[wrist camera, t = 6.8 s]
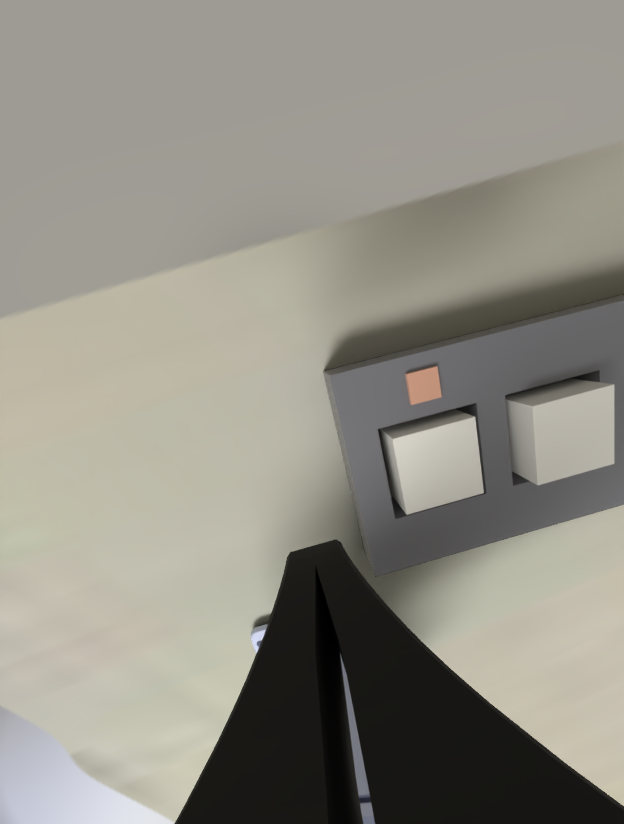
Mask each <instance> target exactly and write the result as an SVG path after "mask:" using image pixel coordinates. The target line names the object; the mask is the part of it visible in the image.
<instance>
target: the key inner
mask: <svg viewBox="0 0 624 824" xmlns="http://www.w3.org/2000/svg"><path fill="white" fill-rule="evenodd" d="M378 430H379V436H380V441H381V446H382V451H383V456H384V461H385V466H386V471H387V476H388V481H389V486H390V492H391V494H392V496H393V497H394V498H395V500H396V501H397V503H398V504H399V505H400V507H401V508H402V509H403V511H404V512H405V513H406V515H408V514H411V513H415V512H419V511H422V510H426V509H429V508H433V507H436V506H440V505H443V504H447V503H450V502H454V501H457V500H461V499H465V498H468V497H472V496H475V495H479V494H482V493H484V490H483V481H482V472H481V463H480V455H479V446H478V437H477V429H476V420H475V417H474V416H472V415H469V414H467V413H464V412H461V411H459V410H456V409H451V410H448V411H444V412H440V413H436V414H433V415H429V416H425V417H422V418H418V419H414V420H410V421H407V422H403V423H399V424H395V425H392V426H388V427H384V428H380V429H378Z"/></svg>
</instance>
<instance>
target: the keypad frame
mask: <svg viewBox="0 0 624 824" xmlns="http://www.w3.org/2000/svg"><path fill="white" fill-rule="evenodd" d="M323 372H324V377H325V381H326V385H327V390H328V394H329V398H330V402H331V407H332V411H333V415H334V420H335V424H336V428H337V433H338V437H339V441H340V446H341V450H342V454H343V459H344V463H345V467H346V472H347V476H348V480H349V485H350V489H351V493H352V498H353V502H354V506H355V511H356V515H357V519H358V524H359V528H360V532H361V537H362V541H363V545H364V550H365V553H366V556H367V558H368V560H369V563H370V565H371V568H372V570H373V572H374V575H375V577H377V576H380V575H383V574H387V573H390V572H394V571H397V570H401V569H404V568H408V567H411V566H414V565H418V564H421V563H425V562H428V561H432V560H435V559H438V558H442V557H445V556H449V555H452V554H456V553H459V552H462V551H466V550H469V549H473V548H476V547H480V546H483V545H486V544H490V543H493V542H497V541H500V540H504V539H507V538H510V537H514V536H517V535H521V534H524V533H528V532H531V531H534V530H538V529H541V528H545V527H548V526H552V525H555V524H558V523H562V522H565V521H569V520H572V519H576V518H579V517H583V516H586V515H589V514H593V513H596V512H600V511H603V510H607V509H610V508H613V507H617V506H620V505H624V295H620V296H616V297H612V298H608V299H604V300H600V301H596V302H592V303H589V304H585V305H581V306H577V307H573V308H569V309H565V310H561V311H557V312H553V313H549V314H545V315H542V316H538V317H534V318H530V319H526V320H522V321H518V322H514V323H510V324H506V325H502V326H498V327H495V328H491V329H487V330H483V331H479V332H475V333H471V334H467V335H463V336H459V337H455V338H451V339H447V340H444V341H440V342H436V343H432V344H428V345H424V346H420V347H416V348H412V349H408V350H404V351H400V352H397V353H393V354H389V355H385V356H381V357H377V358H373V359H369V360H365V361H361V362H357V363H353V364H349V365H346V366H342V367H338V368H334V369H330V370H326V371H323ZM568 379H578V380H585V381H593V382H600V383H608V384H614V464H612V465H608V466H605V467H601V468H598V469H594V470H591V471H587V472H584V473H580V474H577V475H573V476H569V477H566V478H562V479H559V480H555V481H552V482H548V483H545V484H541V485H536V484H534V483H532V482H531V481H529V480H527V479H525V478H523V477H522V476H520V475H518V474H516V473H515V472H513V471H512V468H511V457H510V445H509V434H508V423H507V412H506V401H505V395H508V394H511V393H515V392H519V391H523V390H526V389H530V388H534V387H538V386H541V385H545V384H549V383H553V382H556V381H560V380H568ZM451 409H456V410H459V411H461V412H464V413H467V414H469V415H472V416H474V417H475V420H476V429H477V437H478V446H479V455H480V463H481V472H482V481H483V490H484V493H482V494H479V495H475V496H472V497H468V498H465V499H461V500H457V501H454V502H450V503H447V504H443V505H440V506H436V507H433V508H429V509H426V510H422V511H419V512H415V513H411V514H408V515H406V513H405V512H404V511H403V509H402V508H401V507H400V505H399V504H398V503H397V501H396V500H395V498H394V497H391V495H390V490H389V485H388V479H387V474H386V469H385V464H384V459H383V454H382V449H381V444H380V439H379V434H378V429H380V428H384V427H388V426H392V425H395V424H399V423H403V422H407V421H410V420H414V419H418V418H422V417H425V416H429V415H433V414H436V413H440V412H444V411H448V410H451Z"/></svg>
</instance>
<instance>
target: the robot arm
mask: <svg viewBox="0 0 624 824" xmlns="http://www.w3.org/2000/svg"><path fill="white" fill-rule="evenodd" d="M261 640H262V641H261ZM251 641H252V643H253V646H254V649H255V651H256V656H255V659H254V661H253V664H252V666H251V669H250V672H249V674H248V676H247V679H246V681H245V683H244V686H243V688H242V690H241V693H240V695H239V697H238V699H237V702H236V704H235V706H234V708H233V710H232V712H231V715H230V717H229V719H228V721H227V723H226V725H225V727H224V729H223V731H222V734H221V736H220V738H219V740H218V742H217V744H216V746H215V748H214V750H213V752H212V754H211V756H210V758H209V759H208V761H207V763H206V765H205V767H204V769H203V771H202V773H201V775H200V777H199V779H198V781H197V783H196V785H195V787H194V789H193V790H192V792H191V794H190V796H189V798H188V800H187V802H186V804H185V806H184V808H183V809H182V811H181V813H180V815H179V817H178V819H177V820H176V822H175V824H624V806H622V805H621V804H620V803H618V802H617V801H616V800H614V799H613V798H612V797H610V796H609V795H607V794H606V793H605V792H603V791H602V790H601V789H599V788H598V787H597V786H595V785H594V784H593V783H591V782H590V781H589V780H587V779H586V778H585V777H583V776H582V775H581V774H579V773H578V772H577V771H575V770H574V769H572V768H571V767H570V766H568V765H567V764H566V763H564V762H563V761H562V760H561V759H559V758H558V757H557V756H556V755H554V754H553V753H552V752H551V751H549V750H548V749H547V748H546V747H544V746H543V745H542V744H541V743H539V742H538V741H537V740H536V739H534V738H533V737H532V736H530V735H529V734H528V733H527V732H525V731H524V730H523V729H522V728H520V727H519V726H518V725H517V724H515V723H514V722H513V721H512V720H510V719H509V718H508V717H507V716H505V715H504V714H503V713H502V712H500V711H499V710H498V709H497V708H495V707H494V706H493V705H492V704H490V703H489V702H488V701H487V700H486V699H484V698H483V697H482V696H481V695H480V694H479V693H478V692H476V691H475V690H474V689H473V688H472V687H471V686H469V685H468V684H467V683H466V682H465V681H464V680H463V679H461V678H460V677H459V676H458V675H457V674H456V673H455V672H454V671H452V670H451V669H450V668H449V667H448V666H447V665H446V664H445V663H444V662H443V661H442V660H440V659H439V658H438V657H437V656H436V655H435V654H434V653H433V652H432V651H431V650H430V649H429V648H428V647H427V646H426V645H425V644H424V643H423V642H422V641H421V640H420V639H419V638H418V637H417V636H416V635H415V634H414V633H413V632H412V631H411V630H410V629H409V628H408V627H407V626H406V625H405V624H404V623H403V622H402V621H401V620H400V619H399V618H398V617H397V616H396V615H395V614H394V613H393V611H392V610H391V609H390V608H389V607H388V606H387V605H386V604H385V603H384V601H383V600H382V599H381V598H380V597H379V595H378V594H377V593H376V592H375V591H374V589H373V588H372V587H371V586H370V585H369V584H368V582H367V581H366V580H365V579H364V577H363V576H362V575H361V573H360V572H359V571H358V569H357V568H356V566H355V565H354V564H353V562H352V561H351V559H350V558H349V556H348V555H347V553H346V551H345V550H344V548H343V546H342V544H341V542H340V541H338V540H332V541H329V542H325V543H322V544H318V545H315V546H311V547H307V548H304V549H300V550H297V551H293V552H290V554H289V555H288V557H287V561H286V566H285V570H284V574H283V578H282V581H281V585H280V588H279V592H278V595H277V598H276V601H275V604H274V607H273V610H272V613H271V616H270V619H269V622H268V624H265V625H262V626H259V627H256V628H254V629H253V630H252V632H251Z"/></svg>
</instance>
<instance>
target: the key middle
mask: <svg viewBox="0 0 624 824" xmlns="http://www.w3.org/2000/svg"><path fill="white" fill-rule="evenodd" d="M505 401H506V412H507V423H508V434H509V445H510V457H511V468H512V471H513V472H515V473H516V474H518V475H520V476H522V477H523V478H525V479H527V480H529V481H531V482H532V483H534V484H536V485H541V484H545V483H548V482H552V481H555V480H559V479H562V478H566V477H569V476H573V475H577V474H580V473H584V472H587V471H591V470H594V469H598V468H601V467H605V466H608V465H612V464H614V384H608V383H600V382H593V381H585V380H578V379H568V380H564V381H560V382H556V383H553V384H549V385H545V386H541V387H538V388H534V389H530V390H526V391H523V392H519V393H515V394H511V395H508V396H505Z"/></svg>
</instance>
